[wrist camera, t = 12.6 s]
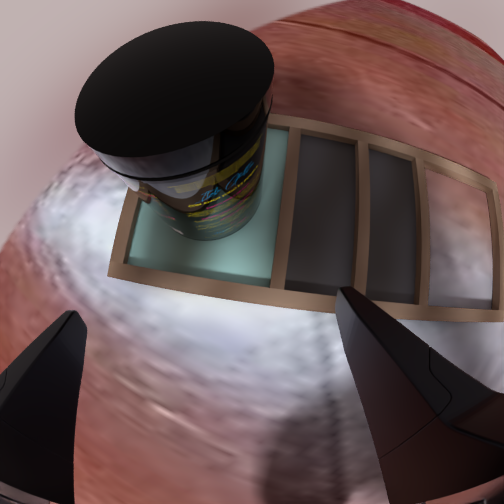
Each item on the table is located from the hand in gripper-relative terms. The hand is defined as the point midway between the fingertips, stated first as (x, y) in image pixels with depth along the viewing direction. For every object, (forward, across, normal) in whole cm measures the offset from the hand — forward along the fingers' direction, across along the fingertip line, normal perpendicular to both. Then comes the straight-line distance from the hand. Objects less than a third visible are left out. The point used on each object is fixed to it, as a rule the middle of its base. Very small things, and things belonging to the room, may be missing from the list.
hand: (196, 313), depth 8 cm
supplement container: (+11, 0, 0) cm, 11 cm away
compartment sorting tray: (+9, -9, +2) cm, 13 cm away
